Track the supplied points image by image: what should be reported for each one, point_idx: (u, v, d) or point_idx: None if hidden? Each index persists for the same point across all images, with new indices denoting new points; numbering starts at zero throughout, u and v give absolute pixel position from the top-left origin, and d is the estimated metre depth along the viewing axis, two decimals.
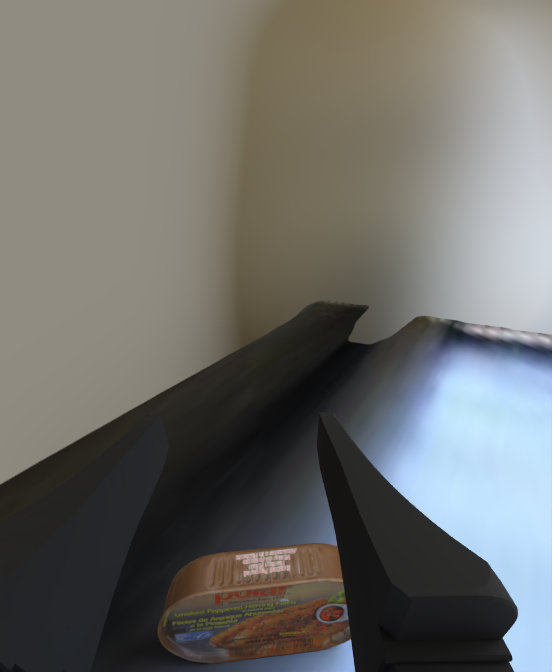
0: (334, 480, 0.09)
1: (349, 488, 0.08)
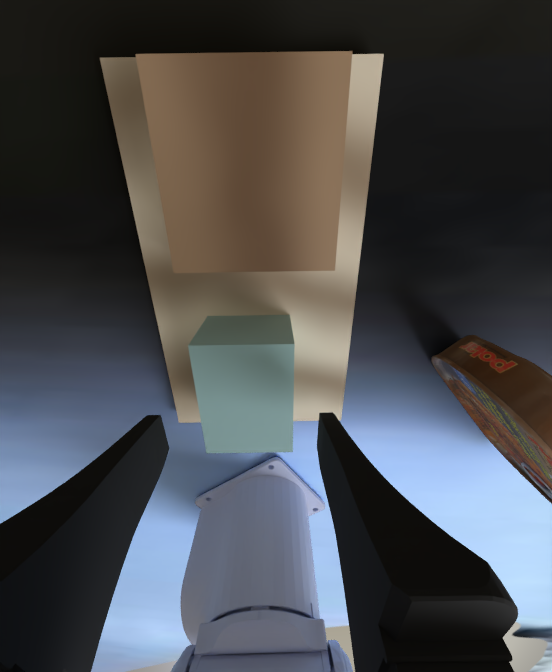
0: (334, 480, 0.09)
1: (349, 488, 0.08)
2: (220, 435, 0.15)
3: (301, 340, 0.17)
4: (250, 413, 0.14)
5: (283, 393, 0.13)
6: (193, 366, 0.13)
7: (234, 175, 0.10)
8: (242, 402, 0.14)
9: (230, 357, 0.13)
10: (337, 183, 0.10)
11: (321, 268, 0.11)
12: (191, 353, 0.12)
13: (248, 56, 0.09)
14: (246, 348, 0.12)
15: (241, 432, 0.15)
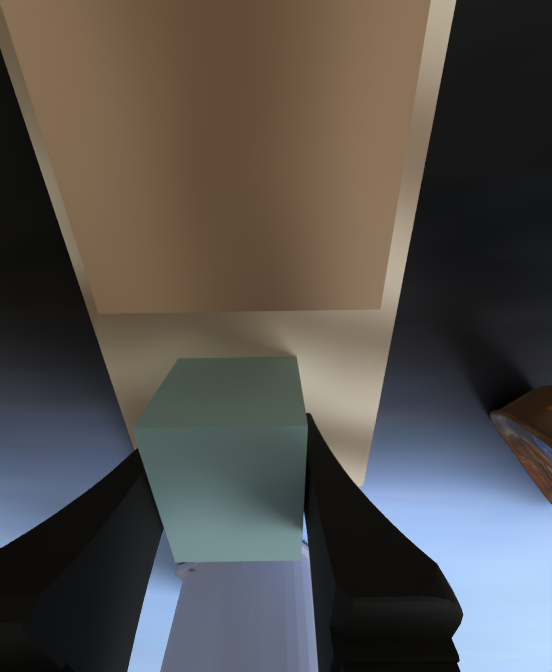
0: (305, 480, 0.09)
1: (313, 489, 0.08)
2: (193, 542, 0.10)
3: (312, 390, 0.12)
4: (238, 516, 0.09)
5: (289, 491, 0.09)
6: (144, 456, 0.08)
7: (195, 132, 0.05)
8: (224, 502, 0.09)
9: (203, 444, 0.08)
10: (397, 150, 0.05)
11: (357, 306, 0.06)
12: (138, 439, 0.08)
13: None
14: (228, 432, 0.08)
15: (225, 539, 0.10)
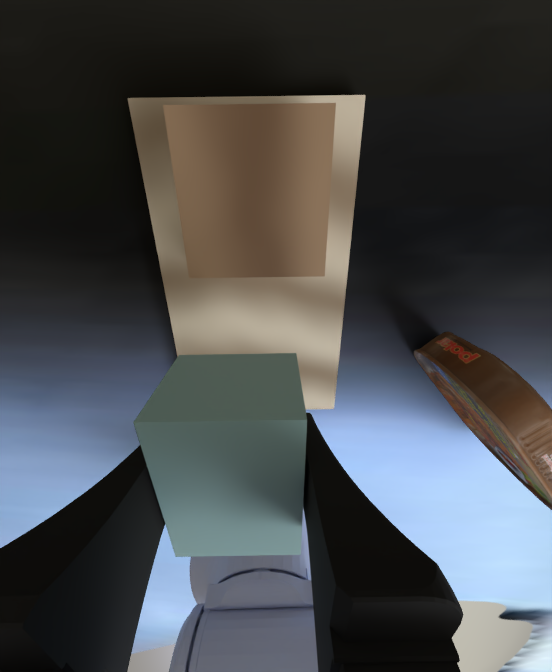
0: (305, 480, 0.09)
1: (313, 489, 0.08)
2: (194, 536, 0.10)
3: (297, 336, 0.19)
4: (238, 510, 0.09)
5: (288, 486, 0.09)
6: (145, 450, 0.08)
7: (240, 198, 0.12)
8: (225, 496, 0.09)
9: (204, 438, 0.08)
10: (325, 205, 0.12)
11: (313, 274, 0.13)
12: (140, 433, 0.08)
13: (252, 105, 0.11)
14: (228, 426, 0.08)
15: (225, 533, 0.10)
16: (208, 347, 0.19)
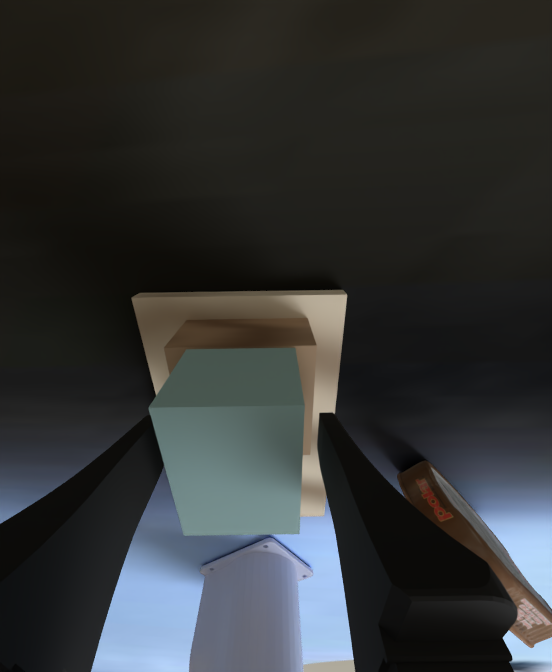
0: (334, 480, 0.09)
1: (349, 488, 0.08)
2: (201, 516, 0.11)
3: None
4: (242, 490, 0.10)
5: (288, 467, 0.10)
6: (158, 434, 0.09)
7: None
8: (230, 477, 0.10)
9: (212, 422, 0.09)
10: (309, 409, 0.14)
11: None
12: (154, 417, 0.09)
13: (243, 344, 0.12)
14: (234, 411, 0.08)
15: (230, 512, 0.11)
16: None
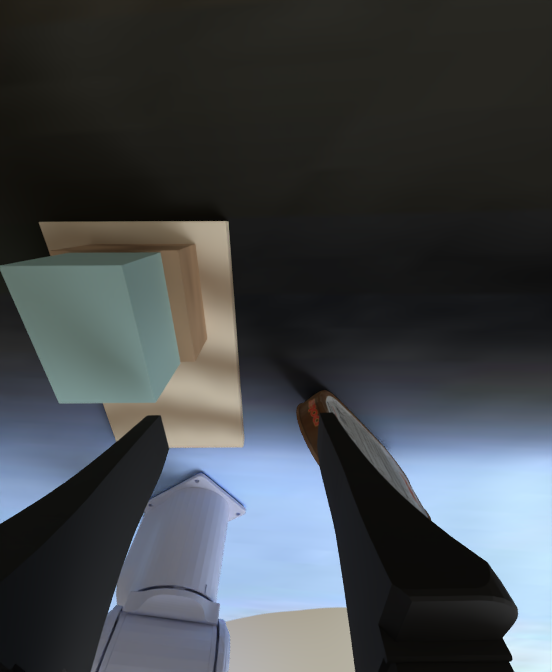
0: (334, 480, 0.09)
1: (349, 488, 0.08)
2: (68, 381, 0.13)
3: (202, 391, 0.22)
4: (95, 353, 0.12)
5: (126, 329, 0.12)
6: (12, 293, 0.11)
7: None
8: (81, 339, 0.12)
9: (52, 281, 0.11)
10: (185, 314, 0.16)
11: (185, 360, 0.17)
12: (5, 276, 0.11)
13: (118, 250, 0.14)
14: (67, 270, 0.11)
15: (91, 378, 0.13)
16: None
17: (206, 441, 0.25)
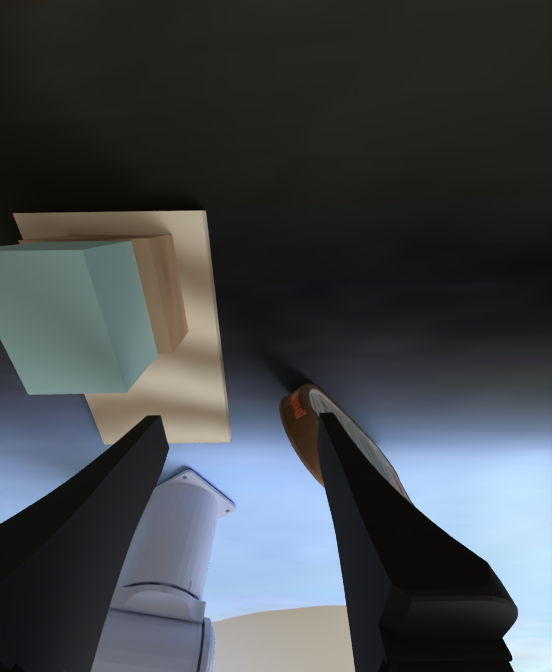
0: (334, 480, 0.09)
1: (349, 488, 0.08)
2: (36, 371, 0.13)
3: (186, 385, 0.22)
4: (61, 342, 0.12)
5: (91, 316, 0.12)
6: None
7: None
8: (46, 328, 0.12)
9: (12, 267, 0.11)
10: (159, 304, 0.16)
11: (162, 352, 0.17)
12: None
13: (88, 238, 0.14)
14: (26, 255, 0.10)
15: (59, 368, 0.13)
16: (112, 394, 0.23)
17: (192, 436, 0.25)
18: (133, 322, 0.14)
